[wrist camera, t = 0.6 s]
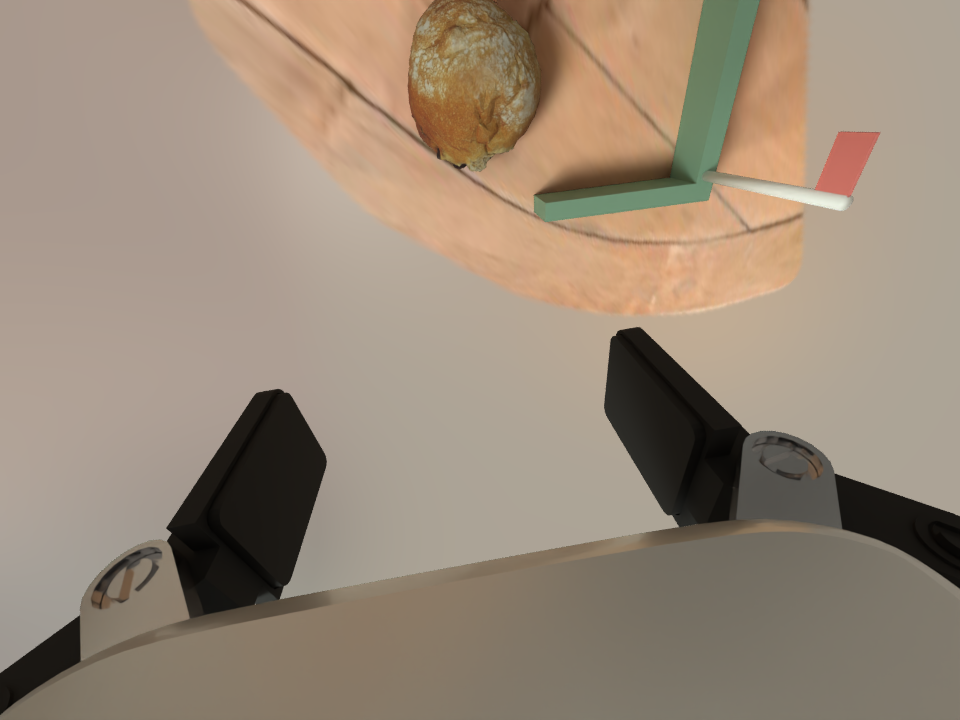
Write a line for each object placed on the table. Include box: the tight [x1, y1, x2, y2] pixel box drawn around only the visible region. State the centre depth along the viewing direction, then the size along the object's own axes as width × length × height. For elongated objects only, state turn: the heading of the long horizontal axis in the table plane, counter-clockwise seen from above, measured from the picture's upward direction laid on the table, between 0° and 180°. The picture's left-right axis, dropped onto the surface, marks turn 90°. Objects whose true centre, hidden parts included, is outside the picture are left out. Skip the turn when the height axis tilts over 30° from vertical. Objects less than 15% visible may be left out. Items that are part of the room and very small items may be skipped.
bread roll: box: [408, 0, 541, 172], centre depth 26 cm, size 10×10×8 cm
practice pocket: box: [534, 0, 880, 222], centre depth 21 cm, size 19×14×16 cm
